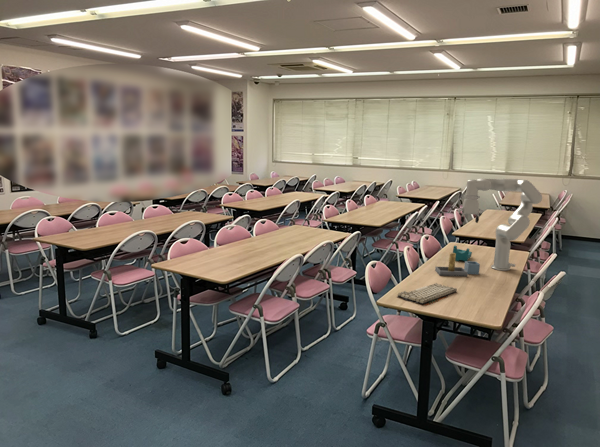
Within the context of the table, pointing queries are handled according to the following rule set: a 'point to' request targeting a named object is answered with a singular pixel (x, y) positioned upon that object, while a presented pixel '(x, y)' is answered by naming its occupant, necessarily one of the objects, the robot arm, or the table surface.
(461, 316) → the table surface
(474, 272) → the blue box
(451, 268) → the dowel
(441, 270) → the tray
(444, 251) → the table surface
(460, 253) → the teal notched holder
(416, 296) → the mechanical keyboard
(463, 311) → the table surface
